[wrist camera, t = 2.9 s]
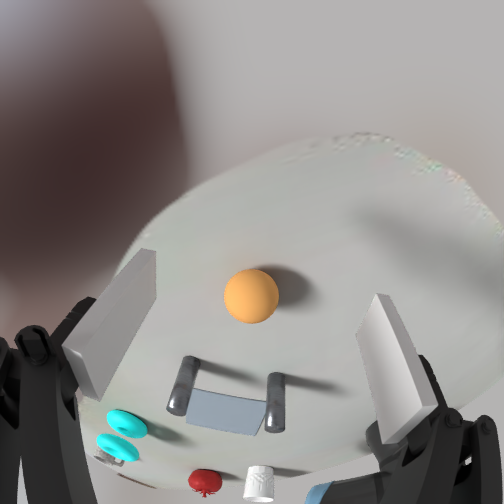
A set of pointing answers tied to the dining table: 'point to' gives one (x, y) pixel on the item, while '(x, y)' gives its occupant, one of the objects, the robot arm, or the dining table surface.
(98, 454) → the mug
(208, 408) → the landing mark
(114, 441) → the donuts
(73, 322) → the robot arm
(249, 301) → the ball
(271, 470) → the white cup
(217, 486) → the pomegranate
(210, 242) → the dining table surface
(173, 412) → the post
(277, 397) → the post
